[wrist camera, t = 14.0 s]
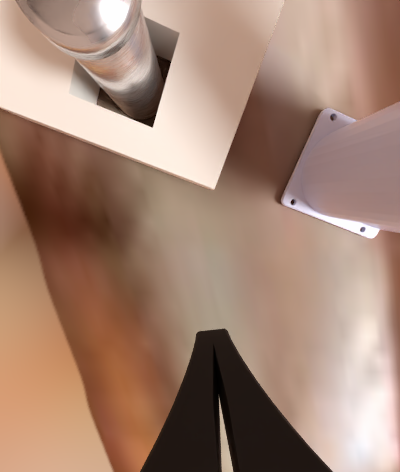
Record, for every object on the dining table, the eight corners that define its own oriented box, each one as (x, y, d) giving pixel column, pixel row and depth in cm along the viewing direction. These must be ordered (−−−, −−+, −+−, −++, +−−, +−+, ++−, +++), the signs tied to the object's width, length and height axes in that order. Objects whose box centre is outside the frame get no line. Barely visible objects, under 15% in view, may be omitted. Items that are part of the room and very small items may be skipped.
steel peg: (174, 65, 14) (145, -99, 6) (162, 130, 15) (124, 61, 7) (113, 46, 14) (1, -151, 6) (105, 114, 15) (-1, 24, 7)
